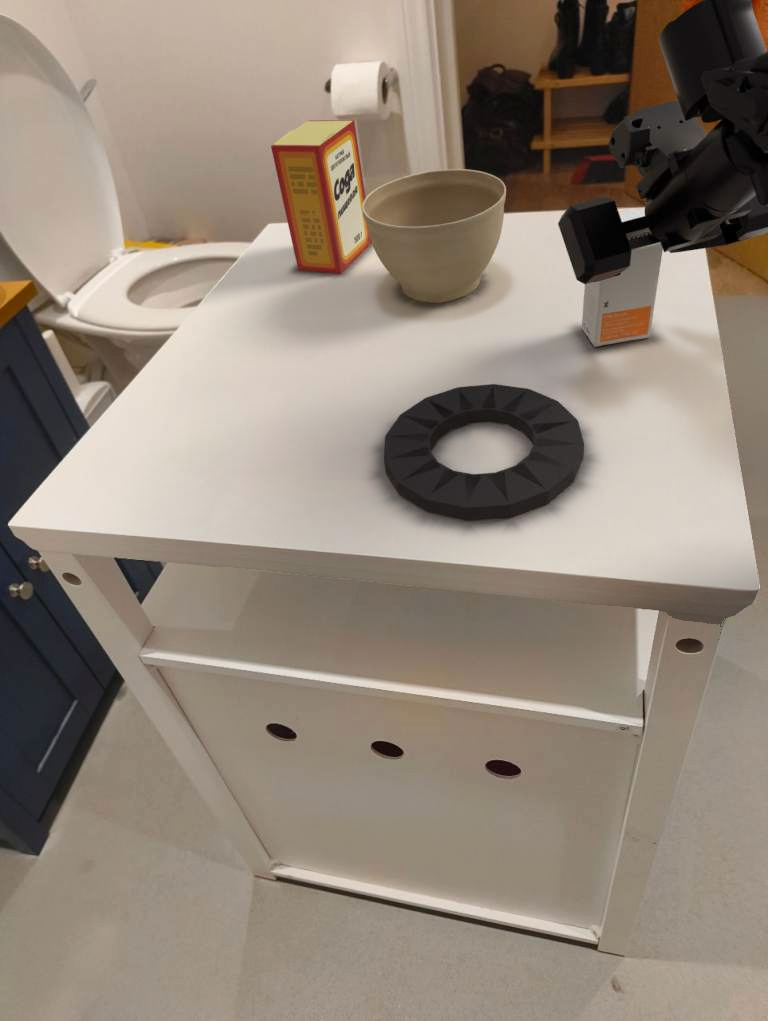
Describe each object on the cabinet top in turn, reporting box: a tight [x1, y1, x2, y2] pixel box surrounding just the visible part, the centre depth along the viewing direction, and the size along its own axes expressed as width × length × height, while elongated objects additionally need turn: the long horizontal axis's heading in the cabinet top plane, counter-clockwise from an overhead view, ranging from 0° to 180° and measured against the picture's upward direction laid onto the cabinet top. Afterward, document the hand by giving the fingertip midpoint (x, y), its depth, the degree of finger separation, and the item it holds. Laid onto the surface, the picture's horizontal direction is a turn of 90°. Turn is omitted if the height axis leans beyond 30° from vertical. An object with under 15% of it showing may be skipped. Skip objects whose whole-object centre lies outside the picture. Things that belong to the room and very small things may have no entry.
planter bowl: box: [362, 168, 507, 303], centre depth 86 cm, size 16×16×11 cm
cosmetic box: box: [581, 208, 664, 348], centre depth 73 cm, size 6×4×12 cm
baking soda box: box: [270, 119, 372, 275], centre depth 95 cm, size 10×6×16 cm
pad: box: [383, 383, 585, 522], centre depth 65 cm, size 17×17×2 cm
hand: (627, 259), depth 71 cm, fingers open, 9 cm apart
